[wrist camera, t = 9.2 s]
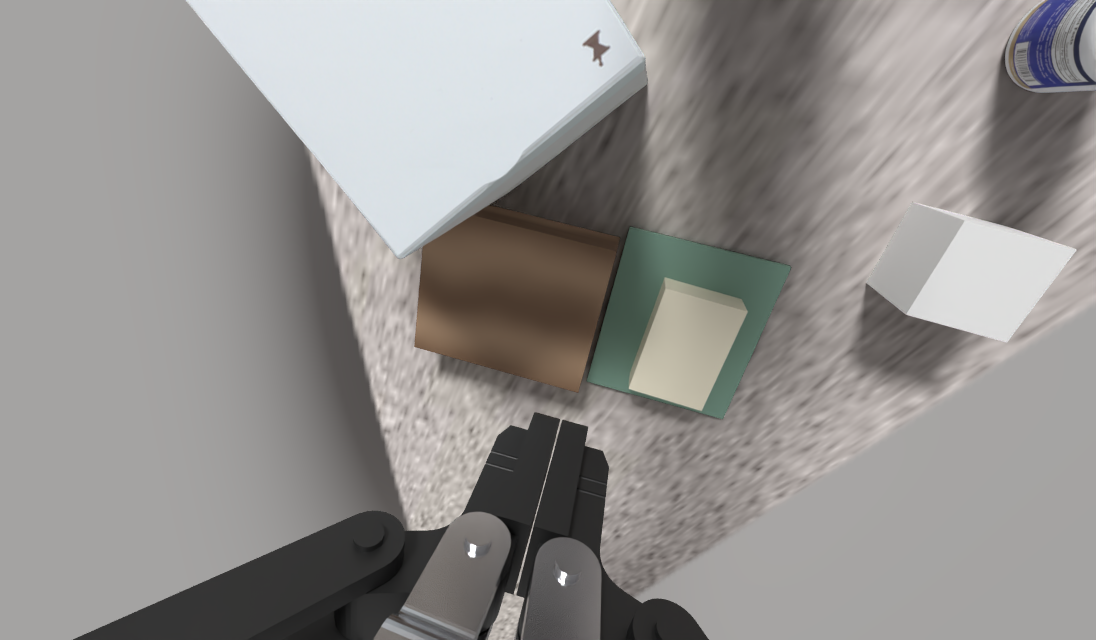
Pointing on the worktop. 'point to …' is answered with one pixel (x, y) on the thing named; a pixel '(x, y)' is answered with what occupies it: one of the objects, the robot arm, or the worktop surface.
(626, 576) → the worktop surface
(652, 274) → the green mat
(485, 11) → the supplement box
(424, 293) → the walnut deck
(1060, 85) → the pill bottle
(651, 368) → the cream tile
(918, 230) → the white cube
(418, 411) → the worktop surface
